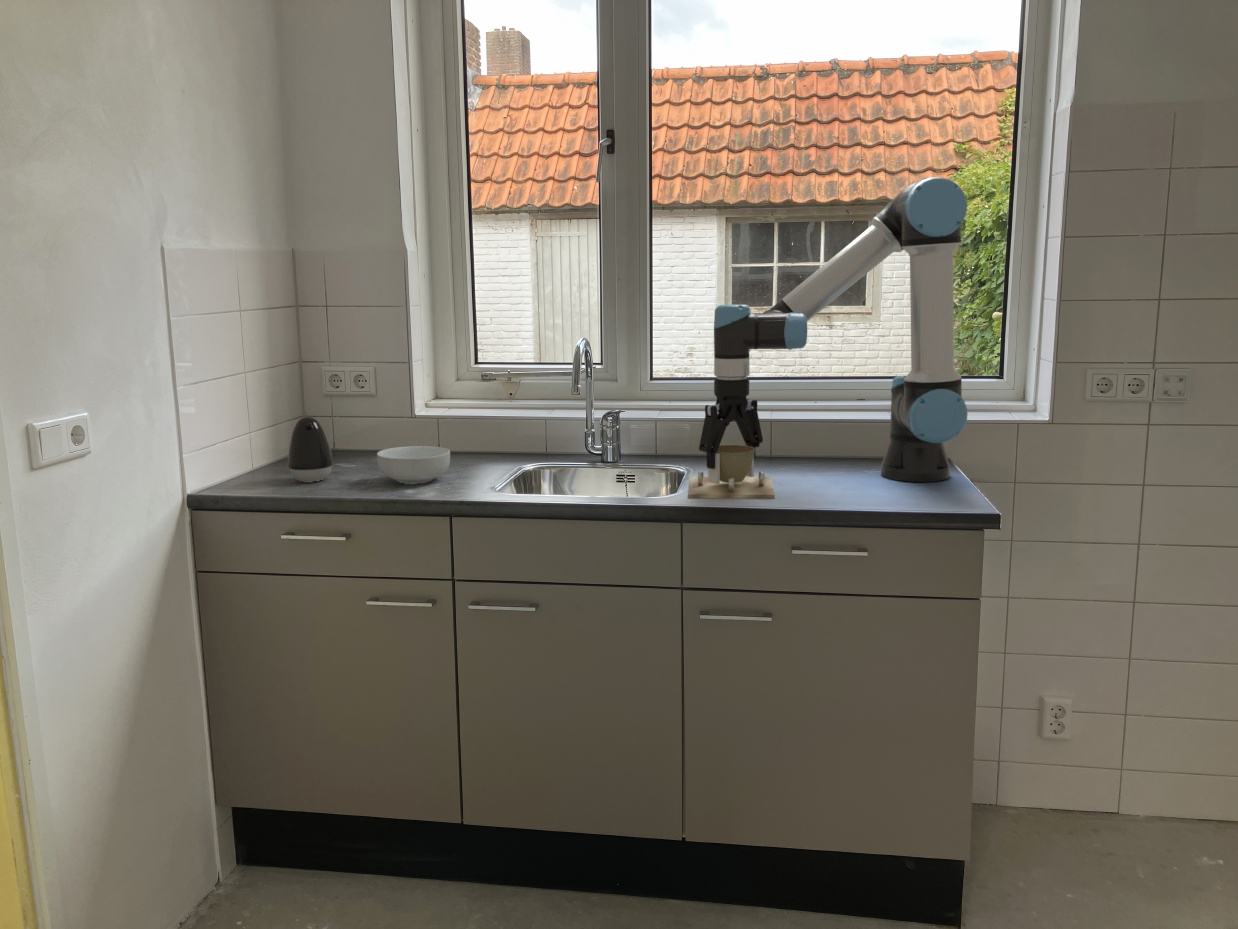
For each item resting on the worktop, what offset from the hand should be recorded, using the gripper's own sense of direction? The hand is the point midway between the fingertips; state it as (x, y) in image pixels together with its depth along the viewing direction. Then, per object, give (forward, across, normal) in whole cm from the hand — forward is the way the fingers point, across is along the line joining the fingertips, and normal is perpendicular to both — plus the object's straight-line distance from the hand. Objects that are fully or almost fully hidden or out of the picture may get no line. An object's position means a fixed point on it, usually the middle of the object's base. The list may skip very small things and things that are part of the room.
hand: (731, 479), depth 219 cm
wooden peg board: (+2, 0, 0) cm, 2 cm away
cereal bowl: (+2, +47, -57) cm, 73 cm away
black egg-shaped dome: (+2, +64, -74) cm, 98 cm away
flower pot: (0, 0, 0) cm, 1 cm away
